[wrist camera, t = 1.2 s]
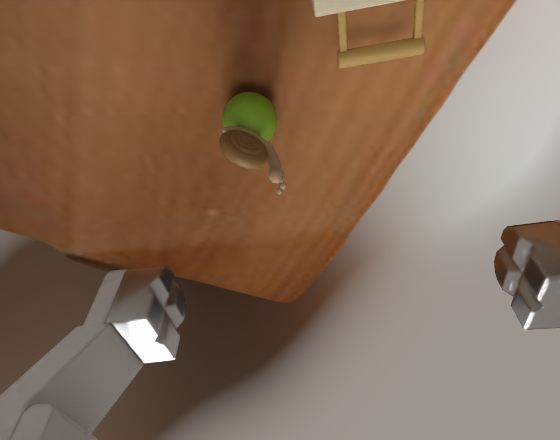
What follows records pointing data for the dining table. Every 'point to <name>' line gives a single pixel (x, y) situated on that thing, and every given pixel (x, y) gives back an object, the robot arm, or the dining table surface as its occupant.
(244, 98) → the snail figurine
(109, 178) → the dining table surface
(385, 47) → the drawer
